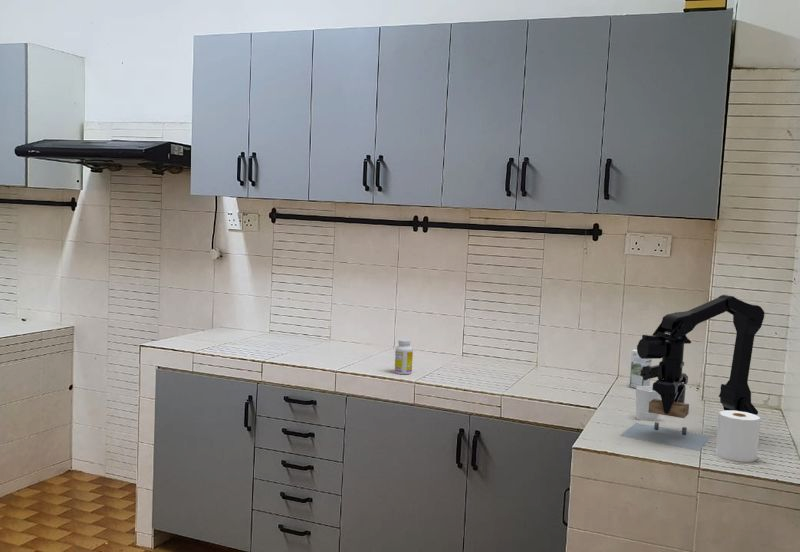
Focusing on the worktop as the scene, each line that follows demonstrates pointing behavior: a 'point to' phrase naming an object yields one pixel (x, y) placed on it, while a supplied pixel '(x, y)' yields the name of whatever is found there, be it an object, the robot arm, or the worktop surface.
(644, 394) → the white cup
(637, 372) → the syrup box
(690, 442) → the grey board
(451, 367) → the worktop surface
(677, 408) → the brown wooden block
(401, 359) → the supplement bottle
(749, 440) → the toilet paper
